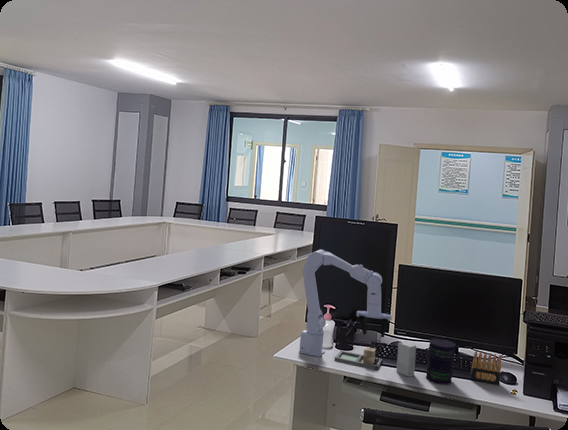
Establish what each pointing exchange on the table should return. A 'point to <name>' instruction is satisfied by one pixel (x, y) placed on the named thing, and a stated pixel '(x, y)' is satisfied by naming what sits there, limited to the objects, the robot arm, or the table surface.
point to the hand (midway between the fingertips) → (373, 335)
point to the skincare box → (406, 358)
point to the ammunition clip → (486, 369)
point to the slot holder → (355, 359)
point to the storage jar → (440, 361)
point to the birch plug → (369, 355)
